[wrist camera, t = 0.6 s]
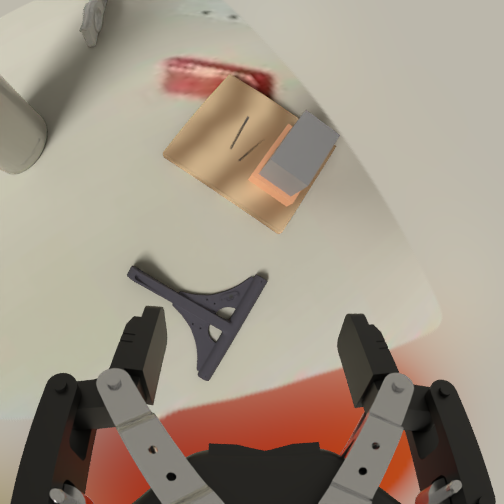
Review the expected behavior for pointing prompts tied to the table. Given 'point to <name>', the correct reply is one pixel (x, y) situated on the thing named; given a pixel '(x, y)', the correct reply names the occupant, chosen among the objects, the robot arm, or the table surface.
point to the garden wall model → (92, 20)
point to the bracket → (208, 315)
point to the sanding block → (294, 158)
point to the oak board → (236, 148)
